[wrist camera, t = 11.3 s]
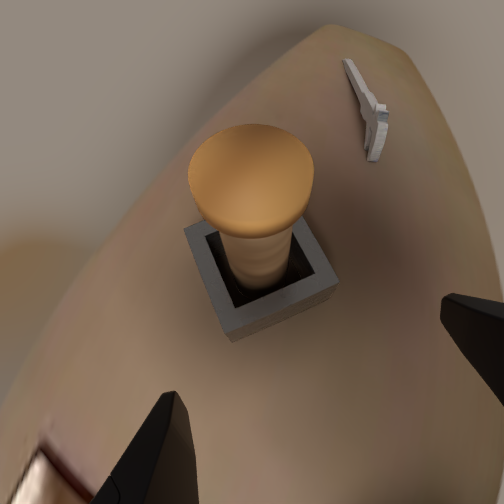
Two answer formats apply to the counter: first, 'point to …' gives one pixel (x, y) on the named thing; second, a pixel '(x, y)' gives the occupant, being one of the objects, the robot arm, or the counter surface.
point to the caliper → (369, 113)
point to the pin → (253, 199)
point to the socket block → (275, 304)
